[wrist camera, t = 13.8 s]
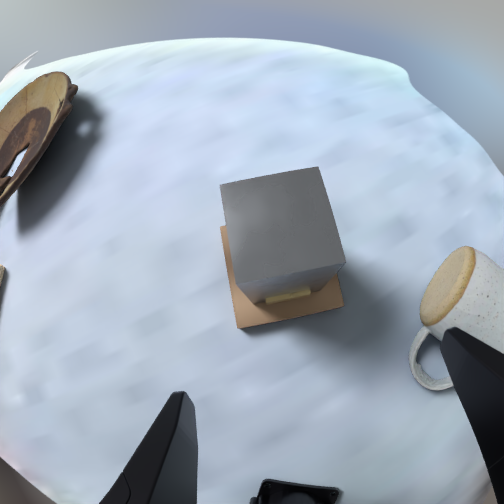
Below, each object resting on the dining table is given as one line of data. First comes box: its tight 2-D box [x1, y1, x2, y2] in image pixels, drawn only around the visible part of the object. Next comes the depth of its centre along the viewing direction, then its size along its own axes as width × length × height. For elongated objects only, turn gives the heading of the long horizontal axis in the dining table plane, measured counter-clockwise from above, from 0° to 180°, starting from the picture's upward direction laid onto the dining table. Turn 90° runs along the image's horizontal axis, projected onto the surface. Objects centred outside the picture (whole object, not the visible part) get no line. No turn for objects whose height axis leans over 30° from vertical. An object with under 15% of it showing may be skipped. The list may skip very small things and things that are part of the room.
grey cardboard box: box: [220, 167, 346, 305], centre depth 18 cm, size 6×5×9 cm
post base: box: [220, 226, 344, 329], centre depth 22 cm, size 8×8×4 cm
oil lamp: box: [0, 72, 78, 207], centre depth 28 cm, size 22×30×8 cm
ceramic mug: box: [409, 246, 504, 390], centre depth 17 cm, size 11×8×8 cm
